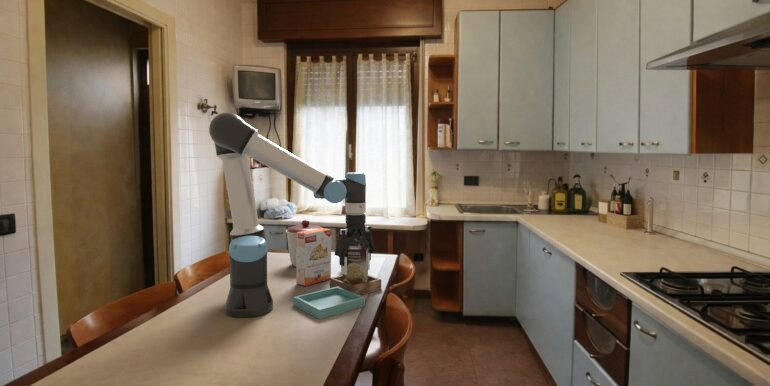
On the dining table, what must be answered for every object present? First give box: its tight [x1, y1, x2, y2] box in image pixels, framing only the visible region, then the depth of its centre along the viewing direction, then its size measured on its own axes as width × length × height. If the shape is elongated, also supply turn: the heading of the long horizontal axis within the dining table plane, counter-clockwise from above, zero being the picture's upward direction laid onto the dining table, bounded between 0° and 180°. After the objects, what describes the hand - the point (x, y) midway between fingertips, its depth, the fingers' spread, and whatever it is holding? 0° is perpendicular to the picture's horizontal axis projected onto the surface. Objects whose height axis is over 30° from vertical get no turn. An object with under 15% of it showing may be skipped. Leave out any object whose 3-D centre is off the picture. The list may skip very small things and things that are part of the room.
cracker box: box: [295, 227, 332, 287], centre depth 172 cm, size 14×6×21 cm, turn 141°
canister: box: [285, 219, 323, 267], centre depth 198 cm, size 18×18×21 cm
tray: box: [293, 286, 366, 320], centre depth 145 cm, size 18×16×3 cm
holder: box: [329, 274, 382, 296], centre depth 164 cm, size 14×14×4 cm
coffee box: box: [342, 245, 369, 285], centre depth 163 cm, size 9×6×16 cm
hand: (355, 271), depth 163 cm, fingers closed on coffee box, 10 cm apart
